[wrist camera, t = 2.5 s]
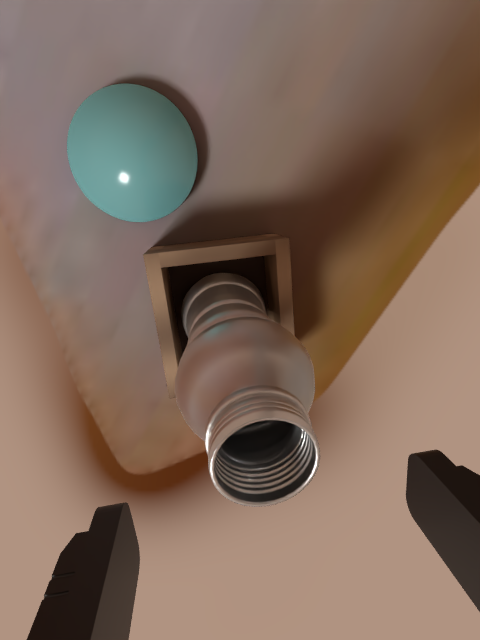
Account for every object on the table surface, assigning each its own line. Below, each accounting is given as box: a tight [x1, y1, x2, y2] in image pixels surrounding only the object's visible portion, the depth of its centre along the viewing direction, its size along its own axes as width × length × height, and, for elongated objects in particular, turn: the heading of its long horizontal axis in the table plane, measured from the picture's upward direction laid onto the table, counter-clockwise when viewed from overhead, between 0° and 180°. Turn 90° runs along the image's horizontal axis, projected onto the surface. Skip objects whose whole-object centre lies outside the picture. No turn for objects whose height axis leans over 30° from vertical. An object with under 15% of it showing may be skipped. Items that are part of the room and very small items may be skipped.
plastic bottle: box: [175, 273, 320, 507], centre depth 21 cm, size 6×7×20 cm
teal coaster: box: [67, 84, 198, 222], centre depth 26 cm, size 9×9×1 cm
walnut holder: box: [143, 233, 295, 399], centre depth 28 cm, size 11×10×5 cm
